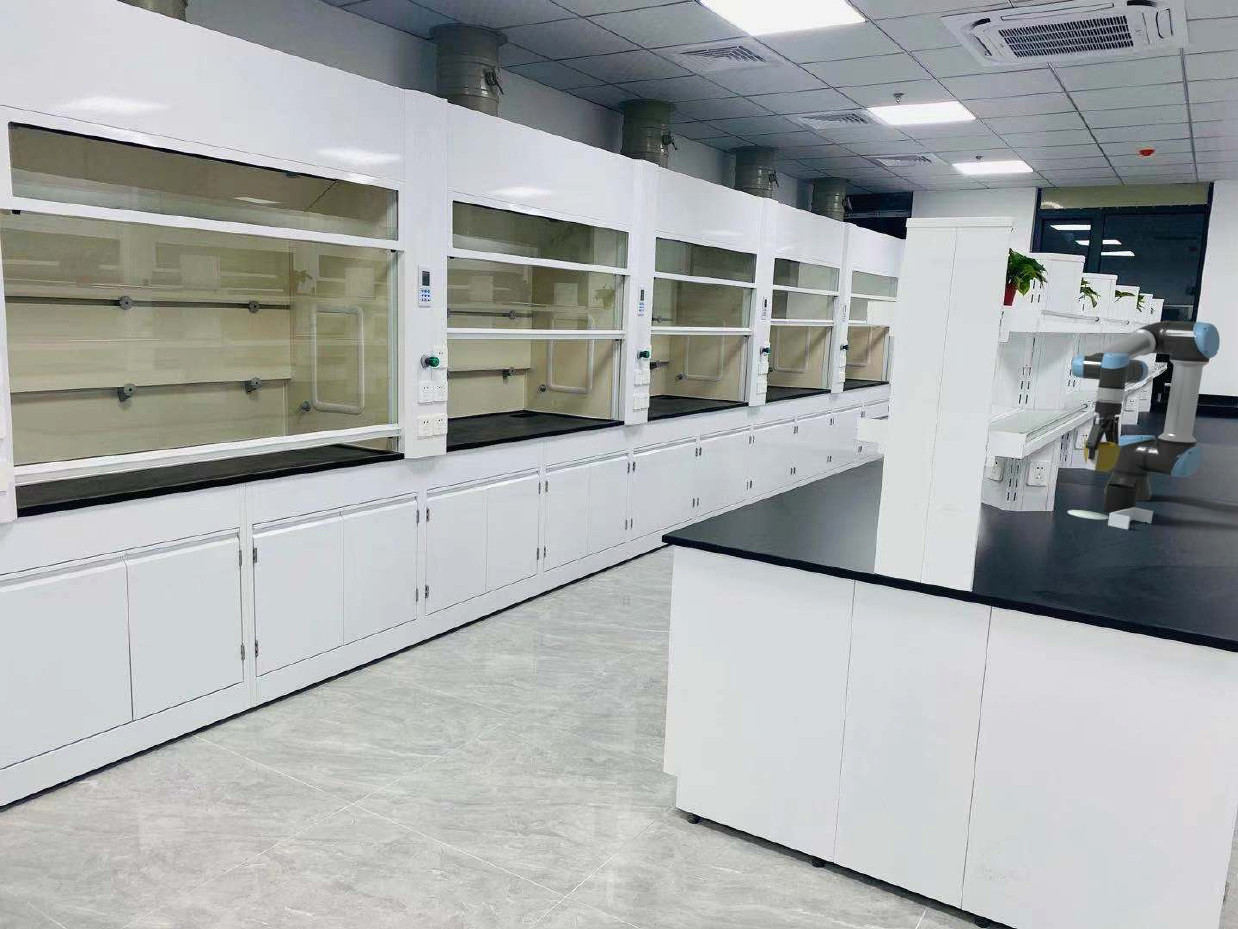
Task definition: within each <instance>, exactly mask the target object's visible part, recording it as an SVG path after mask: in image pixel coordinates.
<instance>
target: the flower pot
mask: <svg viewBox="0 0 1238 929" xmlns="http://www.w3.org/2000/svg"><path fill="white" fill-rule="evenodd" d="M1087 440H1088V439H1087ZM1087 440H1084V446H1083V457H1084V462H1085V465H1086V464H1087V457H1088V451H1089V449H1087V448H1086V444H1087ZM1097 450H1099V451H1098V457H1097V464H1096V470H1092V471H1093V472H1104V473H1105V472H1106V473H1109V472H1111V470H1113V468H1114V466H1115V464H1116V462H1117V460H1118V457H1119V453H1120V450H1121V446H1119V445H1117V444H1115V443H1112V442H1106V441H1102V440H1101V442H1100V444H1099V446H1098V448H1097Z"/></svg>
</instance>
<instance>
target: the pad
mask: <svg viewBox="0 0 1238 929" xmlns="http://www.w3.org/2000/svg"><path fill="white" fill-rule="evenodd" d="M1067 514H1069V515H1071V516H1074V517H1077V518H1083V519H1089V520H1101V521H1103V520H1109V516H1108V515H1106V514H1103V513H1100V512H1096V511H1095V512H1094V511H1091V510H1090V511H1089V510H1080V509H1071V510H1067Z"/></svg>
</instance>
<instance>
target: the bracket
mask: <svg viewBox="0 0 1238 929" xmlns="http://www.w3.org/2000/svg"><path fill="white" fill-rule="evenodd" d="M1153 515H1154V511H1153V510H1149V509H1144V508H1139V507H1136V508H1135V507H1133V508H1129V509H1124V510H1120V511H1116V512H1111V513H1109V516H1108V517H1109V518H1108V522H1107V526H1109V527H1115V528H1119V529H1124V530H1129V529H1130V522H1131V521H1137V522H1142V523H1145V522H1147V524H1152V521H1153V520H1152V519H1153Z"/></svg>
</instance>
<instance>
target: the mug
mask: <svg viewBox="0 0 1238 929" xmlns="http://www.w3.org/2000/svg"><path fill="white" fill-rule="evenodd" d="M1106 485H1107V486H1106ZM1106 485H1105V487H1106V492H1105V494H1104V499H1103V505H1102V510H1103V511H1104V512H1105V513H1109V514H1110V513H1111V512H1116V511H1120V510H1124V509H1129V508H1133V507H1135V508H1137V502H1138V500H1137V496H1138V490H1139V489H1138V488H1137V487H1134V486H1129V485H1123V484H1106Z"/></svg>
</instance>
